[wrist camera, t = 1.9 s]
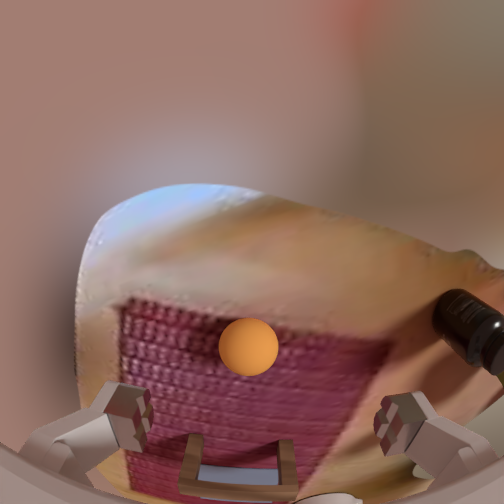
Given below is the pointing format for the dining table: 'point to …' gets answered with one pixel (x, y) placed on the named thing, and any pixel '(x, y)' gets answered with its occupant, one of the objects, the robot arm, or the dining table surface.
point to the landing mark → (238, 477)
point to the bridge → (241, 492)
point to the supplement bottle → (471, 329)
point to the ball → (248, 346)
